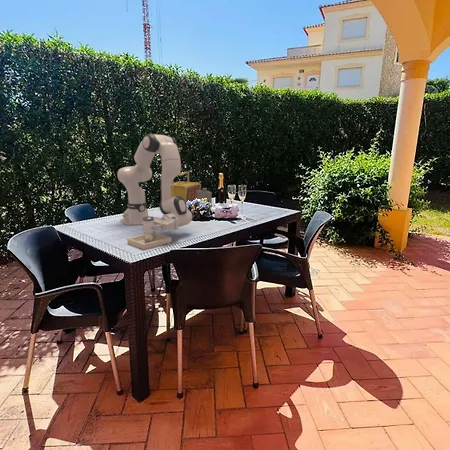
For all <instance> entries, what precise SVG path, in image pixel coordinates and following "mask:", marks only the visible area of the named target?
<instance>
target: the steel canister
mask: <svg viewBox="0 0 450 450" xmlns="http://www.w3.org/2000/svg"><path fill="white" fill-rule="evenodd" d="M154 217H155V216H150V215H148V216H147V217H143V225H142V226H143V235H144V240H145V243H150V242H154V241H155V229H153V228H152V226H153V225H154Z"/></svg>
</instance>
